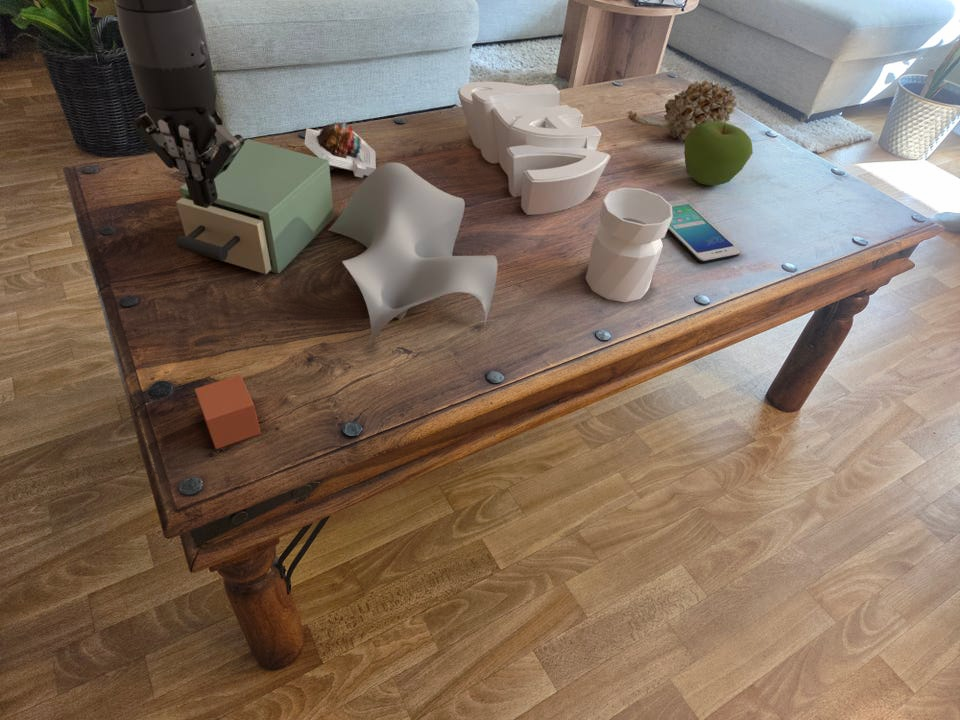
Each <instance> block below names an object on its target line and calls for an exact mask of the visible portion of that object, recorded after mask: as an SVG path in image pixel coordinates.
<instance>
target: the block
mask: <svg viewBox="0 0 960 720" xmlns="http://www.w3.org/2000/svg"><path fill="white" fill-rule="evenodd" d="M194 392H195V396H196V398H197V401H198V405H199V407H200V410H201V414H202V416H203V419H204V422H205V425H206V427H207V428H206V429H207V430H208V433H209V436H210V438H211V441H212V444H213V446H214V449H215V450H218V449H222V448H223V447H227V446H229V445H233V444H235V443H238V442H241V441H243V440H246V439H249V438H252V437H256V436H258V435H261V429H260V424H259V420H258V416H257V412H256V408H255V404H254V402H253V400H252V398H251V395H250V393H249V390H248V388H247V385H246V384H245V381H244V379H243V377H242V375H241V374H238V375H234V376H232V377H228V378H225V379H221V380H219V381H215V382H212V383H209V384H205V385H203V386H199V387H195V388H194Z"/></svg>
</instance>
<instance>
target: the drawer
mask: <svg viewBox="0 0 960 720" xmlns="http://www.w3.org/2000/svg"><path fill="white" fill-rule="evenodd" d="M175 203H176V207H177V211H178V214H179V218H180V221H181V225H182V228H183V232H184V235H182V234H181V235H179V236H178V237H177V239H176V243H175V244H176V247H177V248H178V249H181V250H184V251H187V252H190V253H193V254H198V255H200V256H204V257H207V258H210V259H214V260H217V261H220V262H225V263H228V264H232V265H235V266H238V267H241V268H244V269H248V270H250V271H253V272H257V273H261V274H264V275H267V274H269V273H270V272H271V271H270V270H271V265H270V260H271V255H270V249H269V244H268V238H267V232H266V227H265V221H264V217H262V216H258V215H255V214H251V213H248V212H244V211H241V210H237V209H234V208H230V207H227V206H223V205H220V204H216V203H213V204H212V205H210V206H209V207H208V208H204V207H201V206H197V205H194V203H193V201H192V200H189V199H185V198H182V197H180V198H179V199H178V200H177V201H176V202H175Z"/></svg>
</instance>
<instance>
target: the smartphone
mask: <svg viewBox="0 0 960 720" xmlns="http://www.w3.org/2000/svg"><path fill="white" fill-rule="evenodd" d="M667 202H668V203H669V204H670V205H671V206H672V214H673V217H672V220H671V222H670V225H669V227H668V230H667V232H666V233H668V234H669V235H670V236H671V237H672V238H673V239H674V240H675V241H676V242H677V243H678V244H679V245H680V246H681V247H682V248H683V249H684V250H685V251H686V252H687V253H688V254H689V255H690V256H691V257H692V258H693V259H694V260H695V261H696V262H698V263H700V264H706V263H712V262H717V261H722V260H727V259H731V258H733V259H734V258H737V257H739V256H740V255H741V249H740V248H739V246H738V245H736V244H735V243H734V242H733V241H732V240H731V239H729V237H727V236H726V235H725V234H724V233H723V232H722V231H720V230H719V228H718V227H716V225H714V224H713V223H712V222H711V221H709V219H707V218H706V217H705V216H704V215H703V214H702V213H701V212H700V211H699V210H697V209H696V208H695V207H694V206H693V205H692V204H691V203H690V202H689V201H688V200H686V199H682V198H681V199H675V200H669V201H667Z"/></svg>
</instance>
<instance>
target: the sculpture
mask: <svg viewBox="0 0 960 720" xmlns="http://www.w3.org/2000/svg"><path fill="white" fill-rule="evenodd" d="M465 205H466V204H465V200H464V199H463V198H462V197H460V196H459V197H458V196H455V195H452V194H450V193H447V192H445V191H443V190H441V189H439V188H437V187H436V186H434V185H433V184H431V183H430V182H429V181H427V180H426V179H424V178H422V177H421V176H420V175H419V174H417V173H416V172H415V171H413V170H412V169H411V168H410V167H408V166H407V165H406V164H403V163H401V162H400V163H399V162H388V163H385V164H382V165H380V166H379V167H376V170H374V171H373V172H372V173H371V174H370V175H369V176H367V177H366V178H365V179H364V180H363V181H362V182H361V183H360V185H359V186H358V188H357V190H356V191H355V193H354V194H353V195H352V196H351V198H350V200H349V201H348V203H347V205H346V206H345V208H344V209H343V211H342V212H341V213H340V215H339V216H338V218H337V219H336V220H335V222H333V224H332V225H331V226H330V227H329V228H328V229H327V231H330V232H333V233H337V234H339V235H343V236H345V237H348V238H351V239H352V240H355V241H357V242H359V243H360V244H362V245H364V246H365V247H366V248H367V249H366V250H364V251H363V252H362V253H360V254H358V255H357V256H355V257H352V258H349V259H345V260H342V264H343V265H344V267H345V268H346V269H347V271H348V272H349V273H350V275H351V276H352V278H353V280H354V281H355V282H356V284H357V286H358V288H359V290H360V292H361V294H362V296H363V299H364V301H365V305H366V308H367V313H368V315H369V323H370V343H369V348H371V347H372V345H373V343H374V342H375V340H376V338H377V337H378V335H379V333H380V332H382V330H383V329H384V328H385V327H386V326H387V324H389V322H391V321H392V320H393V319H398V321H401V320H403V318H404V317H405V316H406V314H407V312H408V311H409V309H411V308H413V307H416V306H418V305H421V304H423V303H426V302H429V301H432V300H435V299H437V298H439V297H442V296H446V295H448V294H449V295H450V294H453V293H466V294H470V295H472V296H474V297H475V298H477V299H478V300H479V302H480V303H481V305H482V308H483V310H484V325H483V326H484V327H485V326H486V324H487V323H486V322H487V319H488V315H489V312H490V308H491V304H492V301H493V297H494V293H495V292H494V291H495V288H496V284H497V276H498V259H497V257H496V256H495V255H494V254H489V255H453V252H454V247H455V243H456V241H457V240H456V239H457V236H458V233H459V230H460V226H461V223H462V220H463V217H464V212H465Z"/></svg>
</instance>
